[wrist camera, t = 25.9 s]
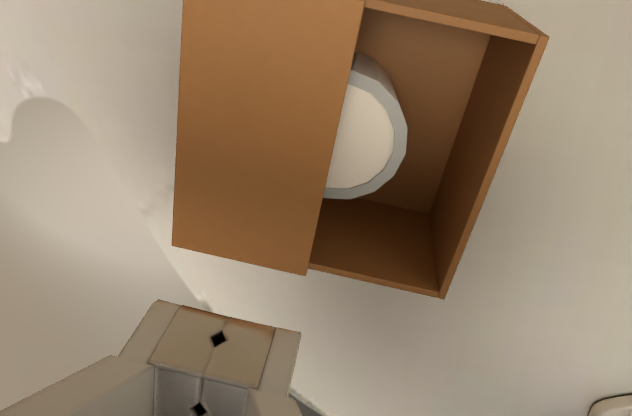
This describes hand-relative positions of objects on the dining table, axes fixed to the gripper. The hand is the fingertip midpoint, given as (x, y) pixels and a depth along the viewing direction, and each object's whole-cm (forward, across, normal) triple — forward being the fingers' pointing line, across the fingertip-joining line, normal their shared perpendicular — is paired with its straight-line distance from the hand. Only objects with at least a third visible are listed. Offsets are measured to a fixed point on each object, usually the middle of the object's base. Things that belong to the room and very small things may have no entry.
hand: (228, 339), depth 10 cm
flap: (+14, +3, +2) cm, 15 cm away
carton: (+24, -1, +2) cm, 24 cm away
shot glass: (+23, -1, +2) cm, 23 cm away
